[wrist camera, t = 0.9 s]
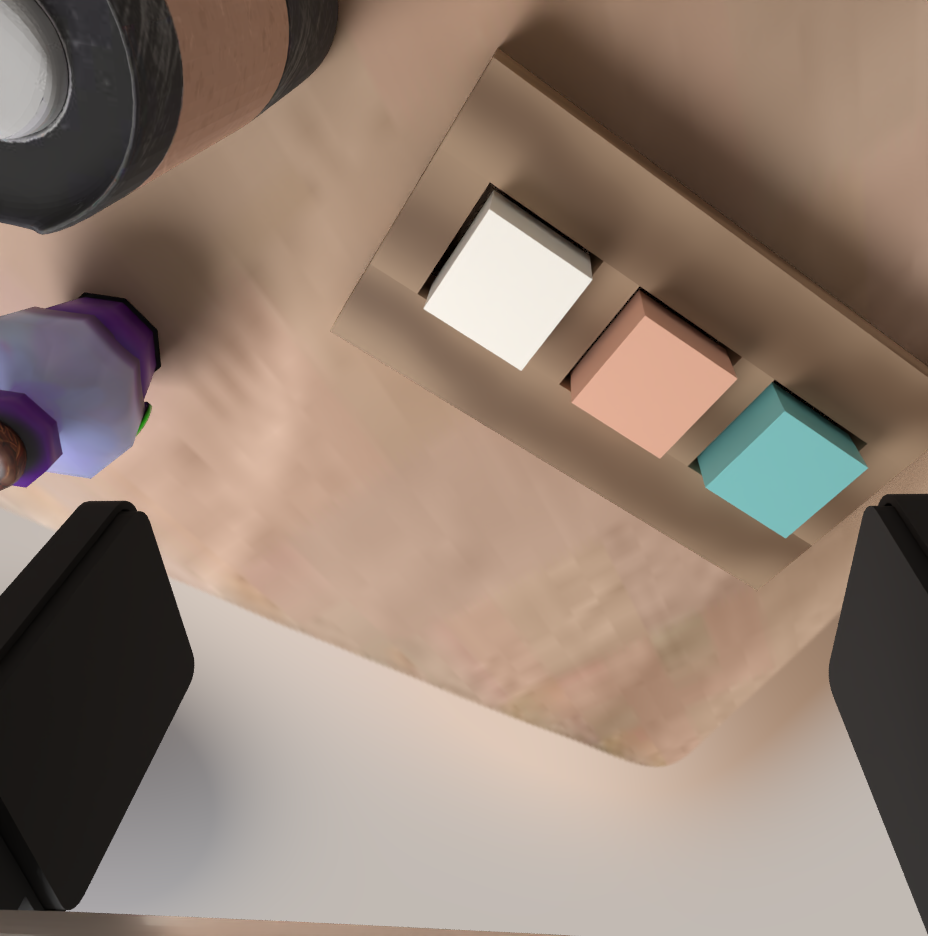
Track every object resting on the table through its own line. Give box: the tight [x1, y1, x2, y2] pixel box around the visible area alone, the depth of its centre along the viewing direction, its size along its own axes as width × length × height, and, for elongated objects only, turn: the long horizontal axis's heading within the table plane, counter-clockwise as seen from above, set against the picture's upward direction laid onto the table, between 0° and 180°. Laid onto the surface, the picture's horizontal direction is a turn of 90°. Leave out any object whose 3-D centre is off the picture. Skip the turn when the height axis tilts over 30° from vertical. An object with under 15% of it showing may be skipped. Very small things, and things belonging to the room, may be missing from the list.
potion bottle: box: [0, 292, 161, 491], centre depth 38 cm, size 9×9×12 cm
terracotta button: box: [570, 290, 738, 459], centre depth 38 cm, size 5×5×3 cm
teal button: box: [697, 382, 868, 538], centre depth 40 cm, size 5×5×3 cm
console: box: [330, 49, 928, 591], centre depth 39 cm, size 14×27×3 cm, turn 57°
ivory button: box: [423, 190, 593, 371], centre depth 36 cm, size 5×5×3 cm
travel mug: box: [0, 0, 338, 234], centre depth 25 cm, size 8×8×20 cm
